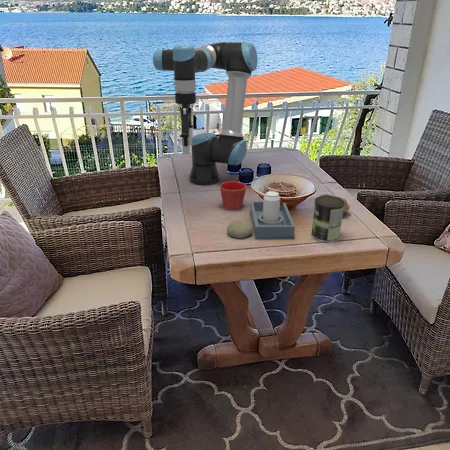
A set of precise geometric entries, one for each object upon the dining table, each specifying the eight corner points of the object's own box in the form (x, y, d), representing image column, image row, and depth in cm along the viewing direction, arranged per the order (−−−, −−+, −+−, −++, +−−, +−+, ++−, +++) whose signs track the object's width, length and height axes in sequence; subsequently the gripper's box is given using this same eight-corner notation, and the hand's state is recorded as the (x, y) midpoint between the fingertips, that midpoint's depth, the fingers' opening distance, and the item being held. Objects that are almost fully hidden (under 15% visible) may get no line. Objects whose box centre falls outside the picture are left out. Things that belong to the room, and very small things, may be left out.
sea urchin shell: (227, 223, 155) (242, 210, 152) (241, 237, 156) (256, 225, 153) (222, 233, 147) (238, 220, 143) (237, 248, 148) (253, 236, 145)
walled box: (250, 212, 168) (250, 201, 166) (283, 212, 169) (284, 201, 167) (255, 239, 147) (255, 226, 145) (293, 238, 147) (294, 226, 145)
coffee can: (312, 242, 145) (316, 205, 139) (310, 229, 154) (313, 194, 148) (341, 243, 144) (346, 207, 138) (337, 230, 153) (342, 196, 147)
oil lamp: (324, 203, 177) (326, 186, 174) (354, 214, 167) (357, 196, 164) (308, 209, 171) (310, 192, 168) (339, 221, 161) (341, 202, 157)
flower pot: (243, 212, 168) (244, 190, 164) (217, 210, 170) (217, 188, 166) (247, 203, 177) (248, 182, 173) (222, 201, 179) (222, 180, 175)
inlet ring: (256, 217, 162) (256, 212, 161) (281, 217, 162) (281, 212, 161) (259, 227, 153) (259, 223, 152) (285, 227, 153) (285, 222, 152)
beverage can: (261, 225, 155) (263, 195, 150) (263, 218, 161) (264, 190, 155) (278, 226, 154) (280, 197, 149) (279, 219, 160) (280, 191, 154)
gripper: (177, 87, 158) (180, 141, 167) (171, 97, 136) (174, 158, 145) (197, 87, 158) (198, 141, 168) (193, 97, 136) (195, 158, 145)
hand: (187, 149), depth 156 cm, fingers open, 13 cm apart
